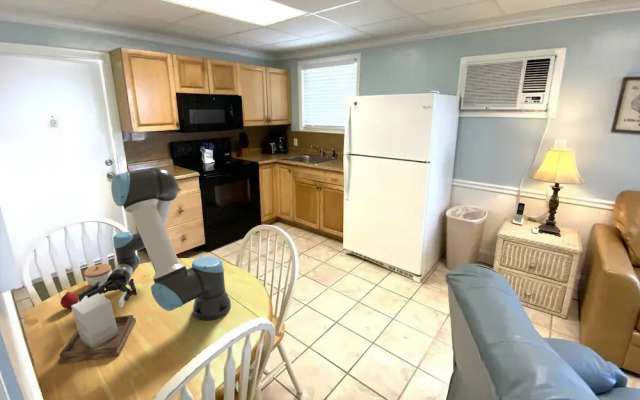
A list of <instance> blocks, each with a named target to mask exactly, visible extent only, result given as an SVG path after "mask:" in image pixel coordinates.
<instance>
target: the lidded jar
mask: <svg viewBox="0 0 640 400" xmlns="http://www.w3.org/2000/svg"><path fill="white" fill-rule="evenodd" d="M112 272H113V270H112V266H111V264H110V263H109V264H108V263H99V264H95V265H92V266H90V267H88V268H86V269H85V270H84V271H83V276H84V278H85V281H86V282H87V284H88V285H90V287H92V286H94V285H95V284H96V283H97V282H100V284H103V283H105V282H106V281H107V279H108V277H109V276H110V274H111V273H112Z"/></svg>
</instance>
